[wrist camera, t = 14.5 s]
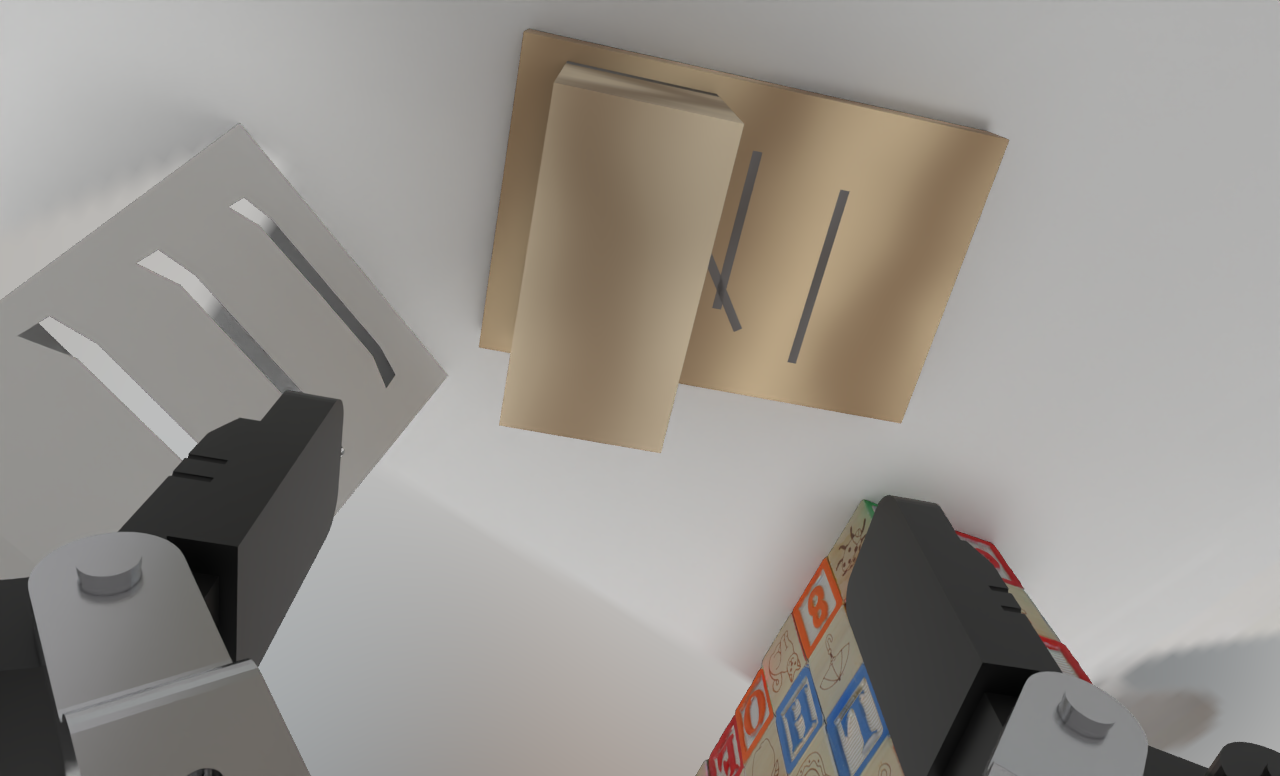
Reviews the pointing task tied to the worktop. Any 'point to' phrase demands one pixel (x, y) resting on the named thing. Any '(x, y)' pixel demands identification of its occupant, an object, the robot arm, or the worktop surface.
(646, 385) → the block
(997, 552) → the stack of blocks
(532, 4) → the worktop surface
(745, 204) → the board
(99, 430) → the grater
